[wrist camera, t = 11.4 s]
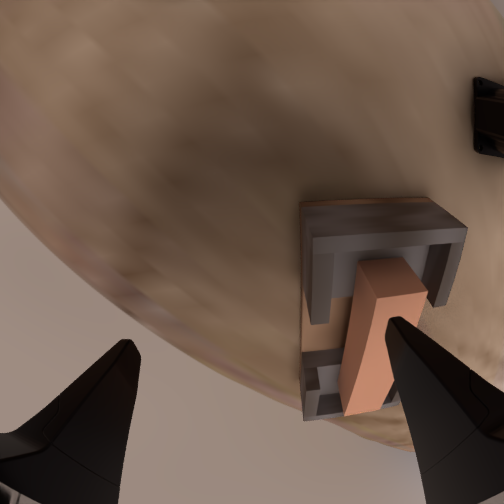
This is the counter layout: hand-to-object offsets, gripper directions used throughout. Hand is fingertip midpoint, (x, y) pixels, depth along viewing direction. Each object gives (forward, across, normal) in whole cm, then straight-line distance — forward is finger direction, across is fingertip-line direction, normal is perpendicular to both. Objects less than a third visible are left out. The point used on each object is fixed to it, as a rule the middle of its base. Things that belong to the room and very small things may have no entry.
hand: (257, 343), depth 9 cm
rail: (+9, -8, +10) cm, 16 cm away
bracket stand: (+12, -8, +10) cm, 18 cm away
